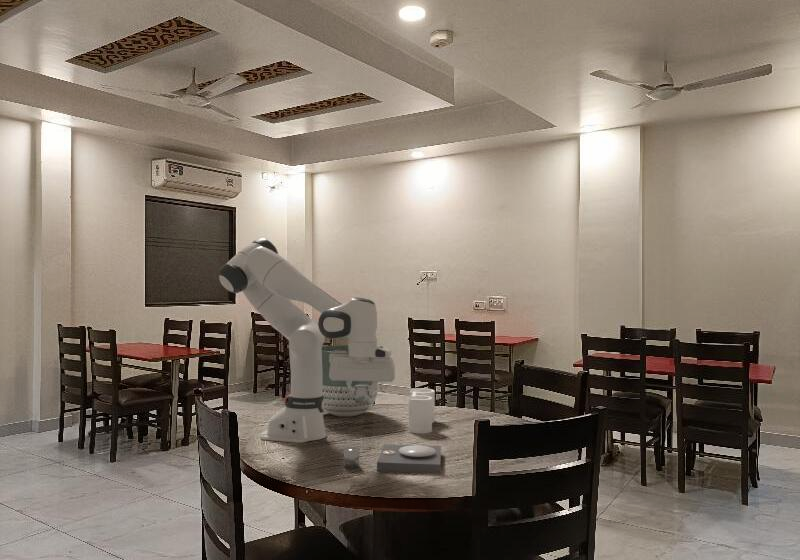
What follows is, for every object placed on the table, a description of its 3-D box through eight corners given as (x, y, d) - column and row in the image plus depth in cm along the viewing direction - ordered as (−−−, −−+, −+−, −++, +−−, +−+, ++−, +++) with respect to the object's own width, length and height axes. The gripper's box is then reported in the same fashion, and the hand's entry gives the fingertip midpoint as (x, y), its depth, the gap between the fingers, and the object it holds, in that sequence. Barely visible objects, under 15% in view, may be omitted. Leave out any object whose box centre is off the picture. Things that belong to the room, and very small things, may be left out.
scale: (377, 471, 178) (377, 458, 178) (384, 452, 198) (384, 440, 198) (440, 473, 177) (440, 460, 177) (440, 454, 197) (440, 442, 197)
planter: (313, 408, 266) (314, 345, 266) (376, 407, 269) (377, 345, 269) (311, 422, 239) (312, 352, 239) (381, 421, 242) (382, 352, 242)
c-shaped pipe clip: (433, 434, 224) (434, 400, 224) (406, 433, 225) (406, 399, 225) (434, 418, 249) (434, 388, 249) (410, 418, 250) (410, 387, 250)
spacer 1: (343, 468, 181) (343, 451, 181) (344, 463, 185) (345, 446, 185) (358, 468, 181) (358, 451, 181) (359, 464, 185) (359, 447, 185)
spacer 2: (353, 403, 190) (353, 386, 190) (355, 400, 194) (356, 384, 194) (368, 403, 189) (368, 387, 189) (369, 400, 194) (370, 384, 194)
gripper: (327, 351, 189) (326, 396, 189) (394, 352, 188) (393, 398, 188) (331, 348, 196) (330, 392, 196) (396, 350, 194) (395, 394, 194)
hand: (362, 395), depth 192 cm, fingers closed on spacer 2, 4 cm apart
